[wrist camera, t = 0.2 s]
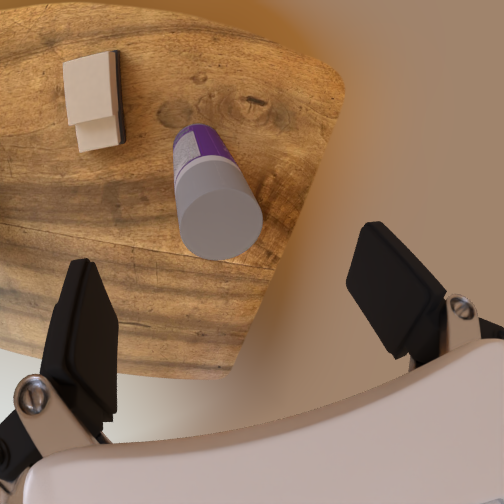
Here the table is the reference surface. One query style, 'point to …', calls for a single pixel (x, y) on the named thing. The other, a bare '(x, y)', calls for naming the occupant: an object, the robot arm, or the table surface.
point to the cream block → (95, 100)
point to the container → (212, 196)
